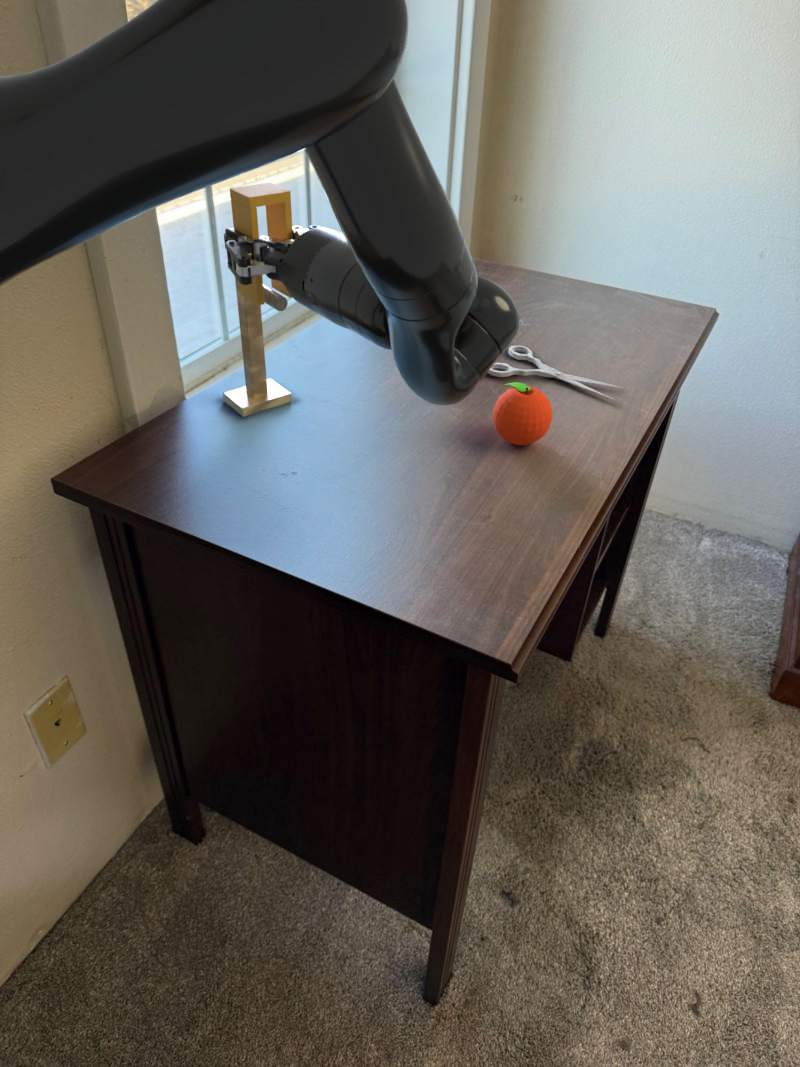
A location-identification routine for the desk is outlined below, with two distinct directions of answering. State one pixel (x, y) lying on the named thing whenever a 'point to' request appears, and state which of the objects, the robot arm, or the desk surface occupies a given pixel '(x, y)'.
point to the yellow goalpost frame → (247, 223)
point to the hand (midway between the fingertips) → (251, 233)
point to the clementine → (522, 414)
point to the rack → (256, 359)
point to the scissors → (539, 370)
